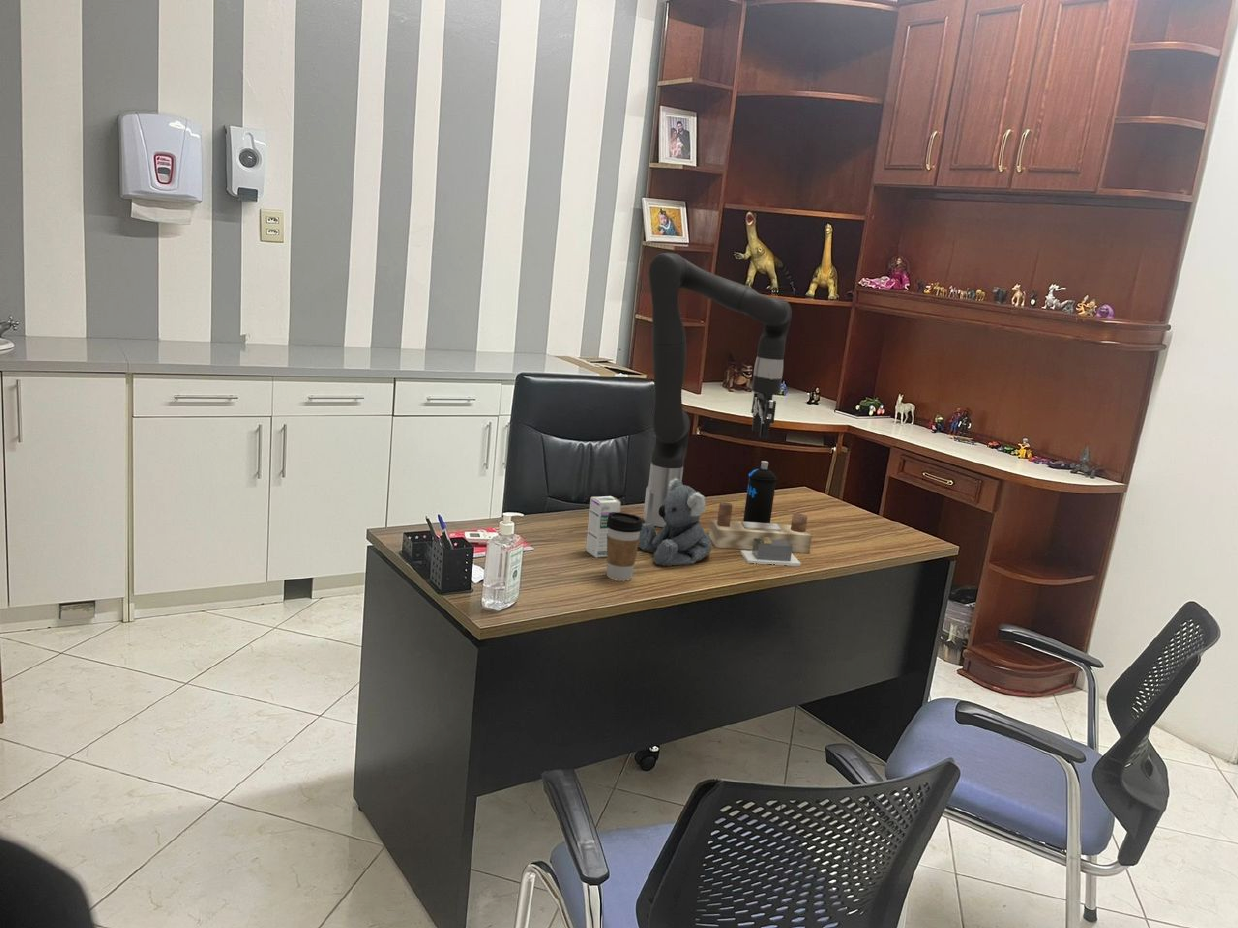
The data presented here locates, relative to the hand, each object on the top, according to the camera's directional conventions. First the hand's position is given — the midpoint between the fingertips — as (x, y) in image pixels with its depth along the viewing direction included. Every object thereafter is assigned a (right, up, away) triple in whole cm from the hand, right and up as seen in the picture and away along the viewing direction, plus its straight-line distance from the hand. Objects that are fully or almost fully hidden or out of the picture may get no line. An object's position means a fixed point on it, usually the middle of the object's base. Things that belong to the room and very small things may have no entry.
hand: (759, 434), depth 256 cm
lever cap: (+2, -32, -7) cm, 33 cm away
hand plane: (0, -30, +4) cm, 30 cm away
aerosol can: (+2, -27, +19) cm, 33 cm away
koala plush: (-23, -32, -11) cm, 41 cm away
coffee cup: (-38, -35, -31) cm, 60 cm away
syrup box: (-43, -31, -16) cm, 55 cm away
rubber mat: (+2, -33, -7) cm, 34 cm away
